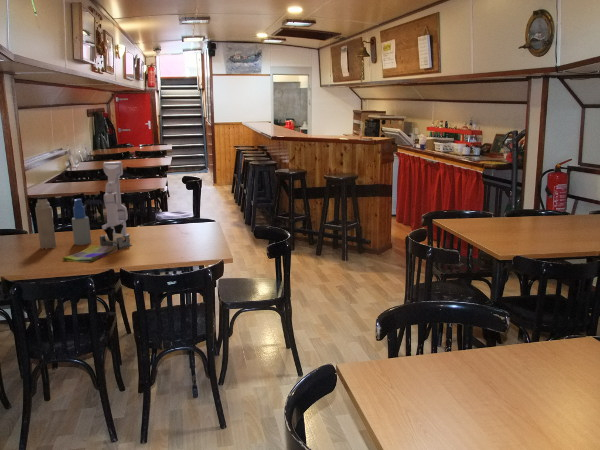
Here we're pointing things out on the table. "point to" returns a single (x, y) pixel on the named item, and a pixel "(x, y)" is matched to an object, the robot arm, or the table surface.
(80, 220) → the spray bottle
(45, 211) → the thermos bottle
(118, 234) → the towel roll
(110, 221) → the robot arm
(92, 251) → the dish towel
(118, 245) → the roll holder
